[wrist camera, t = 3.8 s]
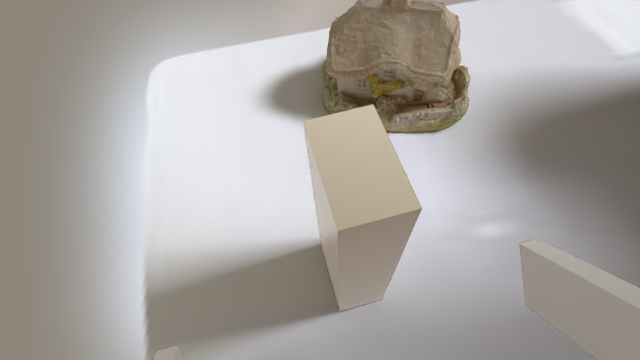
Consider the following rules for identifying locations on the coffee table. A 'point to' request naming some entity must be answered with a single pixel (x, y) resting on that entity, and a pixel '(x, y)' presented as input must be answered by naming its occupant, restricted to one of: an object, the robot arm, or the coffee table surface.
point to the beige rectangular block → (359, 202)
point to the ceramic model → (397, 64)
